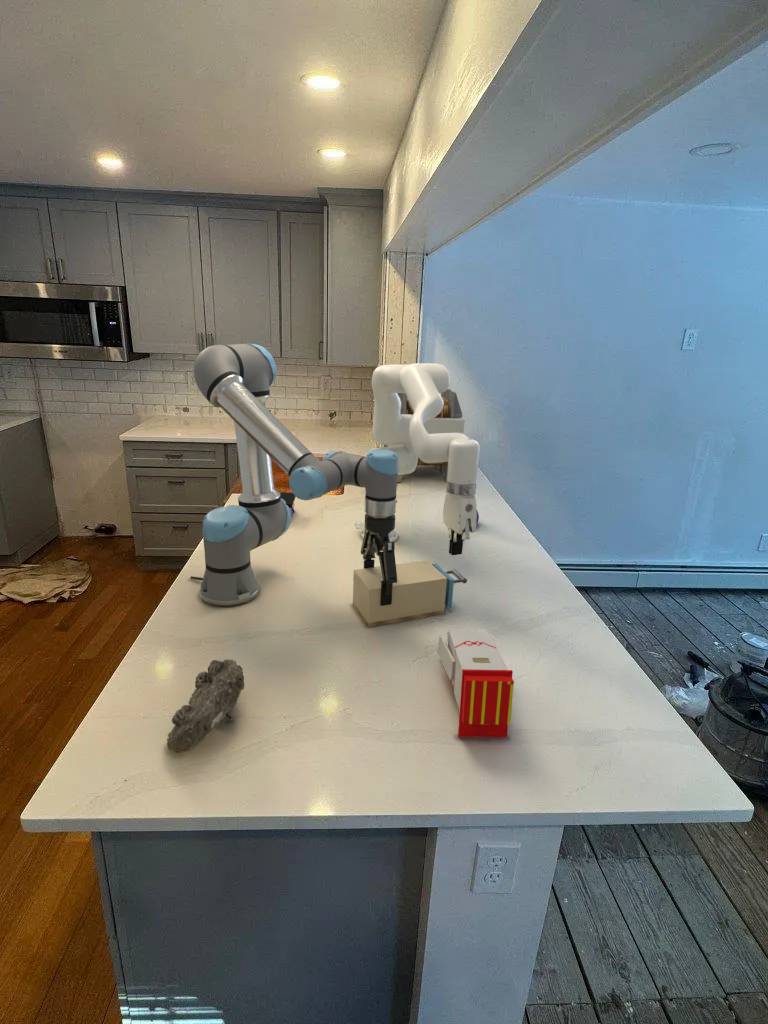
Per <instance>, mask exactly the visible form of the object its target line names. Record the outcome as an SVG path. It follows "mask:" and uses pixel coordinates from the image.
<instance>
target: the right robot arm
mask: <svg viewBox="0 0 768 1024" xmlns="http://www.w3.org/2000/svg"><path fill="white" fill-rule="evenodd" d="M450 384H451V376H450V372H449V370H448V368H447V367H446V366H445V365H444V364H442V363H437V362H432V363H431V362H429V363H427V362H415V363H410V364H403V363H402V364H401V363H400V364H399V363H398V364H382V365H379V366H377V367H376V368H375V369H374V370H373V372H372V376H371V390H372V394H373V399H374V400H373V401H374V404H373V415H372V417H373V418H372V431H371V432H372V433H371V435H372V439H373V441H374V442H375V443H376V444H378V445H383V446H380V447H374V448H372V449H370V450H369V451H371V450H376V449H381V450H390V451H393V452H395V453H396V454H397V456H398V475H402V474H403V475H410V474H412V473H414V472H415V471H416V469H417V467H418V466H417V461H418V457H419V458H420V460H422V461H423V462H425V463H438V462H448V472H447V481H446V485H445V496H444V501H443V502H444V503H443V510H442V522H443V524H445V527H446V528H447V529H448V539H449V542H448V543H449V544H448V554H450V555H451V556H459V555H463V549H464V548H463V547H464V542H465V540H467V541H468V540H470V538H471V537H470V535H471V534H470V533H472V534H474V533H476V529H477V526H476V518H477V511H478V508H477V505H478V504H477V497H476V491H477V482H478V480H477V479H478V471H479V470H478V469H479V462H480V461H479V460H480V449H481V446H480V444H479V442H478V441H477V440H474V439H471V438H469V437H468V436H466V434H464V433H463V434H462V433H436V434H428V433H427V431H426V430H425V427H424V425H423V424H424V423H426V422H427V421H429V420H431V419H433V418H434V417H436V416H437V415H438V414H439V413H440V412H441V411H442V409H443V406H444V402H443V399H442V397H441V393H443V392H445V391H446V390H447V389H449V387H450ZM397 393H405V394H406V396H407V398H408V400H409V402H410V404H411V406H412V409H413V411H414V414H413V415H410V414H400V411H401V400H400V398H399V396H398V394H397ZM386 444H402V446H395V447H384V445H386ZM365 457H367V453H366V455H365ZM403 475H402V476H403ZM364 525H365V521H364V522H362V521H355V522H354V527H355V529H356V530H361V534H360V535H361V538H362V539H363V538H364V534H365V526H364ZM388 535H389V540H390V542H395V541H397V540H398V537H399V534H398V532H397V531H396V530H395V529H394V530H393V531H391V532H390V533H389V534H388Z"/></svg>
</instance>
